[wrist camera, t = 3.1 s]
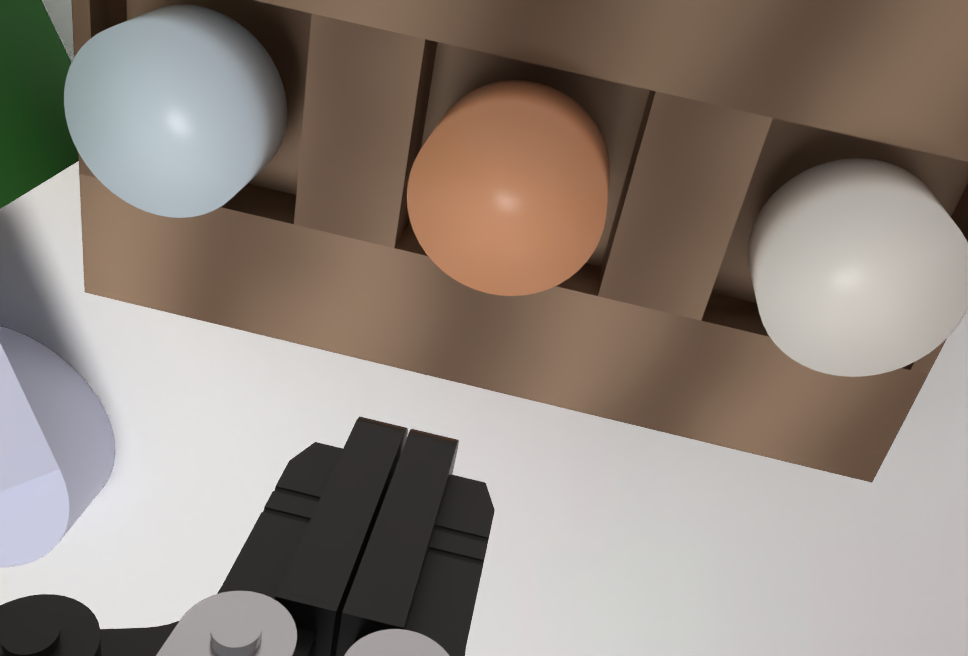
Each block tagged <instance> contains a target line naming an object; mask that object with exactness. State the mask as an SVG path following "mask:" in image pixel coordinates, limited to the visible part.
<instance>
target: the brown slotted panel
mask: <svg viewBox="0 0 968 656" xmlns="http://www.w3.org/2000/svg"><path fill="white" fill-rule="evenodd" d="M177 4H187V5H196V6H202V7H206V8H209V9H212V10H215V11H218V12H220V13H222V14H224V15H226V16H228V17H230V18H231V19H233V20H235V21H236V22H238V23H239V24H240V25H242V26H243V27H244V28H246V29H247V30H248V31H249V32H250V33H251V34H252V35H253V36H254V37H255V38H256V39H257V40H258V41H259V42H260V43H261V45H262V46H263V47H264V48H265V49H266V51H267V52H268V54H269V55H270V57H271V58H272V60H273V62H274V64H275V66H276V68H277V70H278V72H279V75H280V77H281V80H282V83H283V86H284V90H285V94H286V102H287V123H286V130H285V134H284V137H283V141H282V143H281V145H280V147H279V149H278V151H277V153H276V154H275V156H274V157H273V159H272V160H271V161H270V162H269V163H268V165H267V166H266V167H265V168H264V169H263V170H261V171H260V172H259V173H258V174H257V175H256V176H255V177H254V178H253V179H252V180H251V181H250V182H249V183H247V184H246V185H245V186H244V187H243V188H242V189H241V190H240V191H239V192H238V193H237V194H236V195H235V196H233V197H232V198H231V199H230V200H229V201H228V202H226V203H225V204H224V205H223V206H221V207H219V208H217V209H216V210H214V211H211V212H209V213H206V214H204V215H199V216H195V217H186V218H174V217H165V216H160V215H156V214H152V213H149V212H146V211H144V210H141V209H139V208H137V207H134V206H133V205H131V204H129V203H127V202H125V201H124V200H122V199H121V198H119V197H118V196H116V195H115V194H114V193H112V192H111V191H110V190H109V189H108V188H107V187H105V186H104V185H103V184H102V183H101V182H100V181H99V180H98V179H97V178H96V176H95V175H94V174H93V173H92V172H91V170H90V169H89V168H88V167H87V165H86V164H85V162H84V161H83V159H82V157H81V156H80V154H79V175H80V197H81V219H82V242H83V264H84V286H85V292H86V293H90V294H94V295H99V296H103V297H107V298H111V299H115V300H119V301H123V302H127V303H132V304H136V305H140V306H144V307H148V308H152V309H156V310H161V311H165V312H169V313H173V314H177V315H181V316H185V317H190V318H194V319H198V320H202V321H206V322H210V323H214V324H219V325H223V326H227V327H231V328H235V329H239V330H243V331H248V332H252V333H256V334H260V335H264V336H268V337H272V338H276V339H281V340H285V341H289V342H293V343H297V344H301V345H305V346H310V347H314V348H318V349H322V350H326V351H330V352H334V353H339V354H343V355H347V356H351V357H355V358H359V359H363V360H368V361H372V362H376V363H380V364H384V365H388V366H392V367H397V368H401V369H405V370H409V371H413V372H417V373H421V374H425V375H430V376H434V377H438V378H442V379H446V380H450V381H454V382H459V383H463V384H467V385H471V386H475V387H479V388H483V389H488V390H492V391H496V392H500V393H504V394H508V395H512V396H517V397H521V398H525V399H529V400H533V401H537V402H541V403H546V404H550V405H554V406H558V407H562V408H566V409H570V410H574V411H579V412H583V413H587V414H591V415H595V416H599V417H603V418H608V419H612V420H616V421H620V422H624V423H628V424H632V425H637V426H641V427H645V428H649V429H653V430H657V431H661V432H666V433H670V434H674V435H678V436H682V437H686V438H690V439H695V440H699V441H703V442H707V443H711V444H715V445H719V446H723V447H728V448H732V449H736V450H740V451H744V452H748V453H752V454H757V455H761V456H765V457H769V458H773V459H777V460H781V461H786V462H790V463H794V464H798V465H802V466H806V467H810V468H815V469H819V470H823V471H827V472H831V473H835V474H839V475H843V476H848V477H852V478H856V479H860V480H864V481H868V482H873V480H874V478H875V476H876V474H877V472H878V470H879V468H880V466H881V464H882V462H883V460H884V458H885V457H886V455H887V453H888V451H889V449H890V447H891V445H892V443H893V441H894V439H895V437H896V435H897V433H898V432H899V430H900V428H901V426H902V424H903V422H904V420H905V418H906V416H907V414H908V412H909V410H910V408H911V406H912V405H913V403H914V401H915V399H916V397H917V395H918V393H919V391H920V389H921V387H922V385H923V383H924V381H925V379H926V378H927V376H928V374H929V372H930V370H931V368H932V366H933V364H934V362H935V360H936V358H937V356H938V354H939V353H940V351H941V349H942V347H943V345H944V343H945V341H946V339H947V338H946V339H945V340H944V341H943V342H942V343H941V344H940V345H939V346H938V347H936V348H935V349H934V350H933V351H931V352H930V353H929V354H927V355H925V356H924V357H922V358H921V359H919V360H917V361H915V362H913V363H911V364H909V365H907V366H905V367H902V368H899V369H896V370H894V371H890V372H886V373H882V374H878V375H871V376H860V377H847V376H836V375H831V374H825V373H822V372H819V371H815V370H812V369H810V368H808V367H806V366H803V365H801V364H800V363H798V362H796V361H795V360H793V359H791V358H790V357H789V356H787V355H786V354H785V353H784V352H782V351H781V349H780V348H779V347H778V346H777V345H776V344H775V343H774V342H773V340H772V339H771V338H770V336H769V335H768V333H767V331H766V329H765V327H764V325H763V323H762V320H761V317H760V314H759V310H758V305H757V301H756V296H755V292H754V288H753V283H752V279H751V275H750V270H749V264H748V244H749V237H750V234H751V230H752V227H753V225H754V222H755V220H756V218H757V216H758V214H759V212H760V211H761V209H762V208H763V206H764V205H765V203H766V202H767V201H768V200H769V198H770V197H771V196H772V195H773V194H774V193H775V192H776V191H777V190H778V189H779V188H780V187H781V186H782V185H784V184H785V183H786V182H788V181H789V180H790V179H792V178H793V177H795V176H797V175H798V174H800V173H802V172H804V171H806V170H808V169H810V168H812V167H815V166H817V165H821V164H824V163H827V162H831V161H836V160H841V159H851V158H863V159H874V160H880V161H884V162H887V163H891V164H894V165H896V166H898V167H901V168H903V169H905V170H907V171H908V172H910V173H911V174H913V175H915V176H916V177H917V178H918V179H919V180H921V181H922V182H923V183H924V184H925V185H926V186H927V187H928V189H929V190H930V191H931V192H932V193H933V195H934V196H935V197H936V199H937V200H938V201H939V203H940V204H941V205H942V207H943V208H944V209H945V211H946V212H947V213H948V215H949V216H950V217H951V218H952V220H953V221H954V222H955V224H956V225H957V226H958V228H959V229H960V230H961V232H962V233H963V235H964V237H965V239H966V240H967V242H968V0H72V19H73V41H74V57H75V56H76V54H77V53H78V51H79V50H80V49H81V47H82V46H83V45H84V44H85V43H86V42H87V41H88V40H89V39H91V38H92V37H94V36H95V35H96V34H98V33H100V32H102V31H104V30H106V29H108V28H110V27H113V26H115V25H118V24H120V23H123V22H125V21H128V20H130V19H133V18H135V17H138V16H140V15H143V14H145V13H148V12H150V11H153V10H155V9H158V8H162V7H165V6H170V5H177ZM508 80H525V81H531V82H537V83H540V84H544V85H547V86H550V87H552V88H554V89H557V90H559V91H561V92H562V93H564V94H566V95H567V96H569V97H571V98H572V99H573V100H574V101H576V102H577V103H578V104H579V105H581V106H582V107H583V109H584V110H585V111H586V112H587V113H588V114H589V115H590V116H591V118H592V119H593V120H594V122H595V123H596V125H597V126H598V128H599V130H600V132H601V134H602V136H603V139H604V141H605V144H606V147H607V151H608V156H609V163H610V180H609V191H608V202H607V212H606V220H605V225H604V230H603V232H602V235H601V238H600V241H599V243H598V245H597V247H596V249H595V251H594V252H593V254H592V255H591V257H590V258H589V259H588V261H587V262H586V263H585V264H584V265H583V266H582V267H581V268H580V269H579V271H577V272H576V273H575V274H574V275H572V276H571V277H570V278H569V279H567V280H565V281H564V282H562V283H561V284H559V285H557V286H555V287H552V288H550V289H548V290H545V291H542V292H538V293H534V294H529V295H522V296H501V295H494V294H488V293H484V292H481V291H478V290H475V289H472V288H470V287H468V286H465V285H463V284H461V283H460V282H458V281H456V280H454V279H453V278H451V277H450V276H449V275H447V274H446V273H445V272H443V271H442V270H441V269H440V268H439V267H438V266H437V265H436V264H435V263H434V262H433V261H432V260H431V259H430V258H429V256H428V255H427V254H426V253H425V251H424V250H423V248H422V247H421V245H420V243H419V242H418V240H417V237H416V235H415V233H414V231H413V228H412V225H411V222H410V218H409V213H408V208H407V187H408V180H409V176H410V172H411V169H412V166H413V164H414V161H415V159H416V157H417V155H418V153H419V152H420V150H421V148H422V147H423V145H424V144H425V142H426V141H427V139H428V138H429V136H430V135H431V133H432V132H433V130H434V129H435V127H436V126H437V124H438V123H439V121H440V120H441V118H442V117H443V116H444V114H445V113H446V112H447V110H448V109H449V108H450V107H451V106H452V105H453V104H454V103H455V102H456V101H458V100H459V99H460V98H462V97H463V96H464V95H466V94H468V93H469V92H471V91H473V90H475V89H477V88H479V87H482V86H484V85H487V84H491V83H495V82H499V81H508Z"/></svg>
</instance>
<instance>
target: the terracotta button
mask: <svg viewBox="0 0 968 656" xmlns="http://www.w3.org/2000/svg"><path fill="white" fill-rule="evenodd" d="M609 180H610V163H609V156H608V151H607V147H606V144H605V141H604V139H603V136H602V134H601V132H600V130H599V128H598V126H597V125H596V123H595V122H594V120H593V119H592V118H591V116H590V115H589V114H588V113H587V112H586V111H585V110H584V109H583V107H582V106H581V105H579V104H578V103H577V102H576V101H574V100H573V99H572V98H571V97H569V96H567V95H566V94H564V93H562V92H561V91H559V90H557V89H554V88H552V87H550V86H547V85H544V84H540V83H537V82H531V81H525V80H508V81H499V82H495V83H491V84H487V85H484V86H482V87H479V88H477V89H475V90H473V91H471V92H469V93H468V94H466V95H464V96H463V97H462V98H460V99H459V100H458V101H456V102H455V103H454V104H453V105H452V106H451V107H450V108H449V109H448V110H447V112H446V113H445V114H444V116H443V117H442V118H441V120H440V121H439V123H438V124H437V126H436V127H435V129H434V130H433V132H432V133H431V135H430V136H429V138H428V139H427V141H426V142H425V144H424V145H423V147H422V148H421V150H420V152H419V153H418V155H417V157H416V159H415V161H414V164H413V166H412V169H411V172H410V176H409V180H408V187H407V208H408V213H409V218H410V222H411V225H412V228H413V231H414V233H415V235H416V237H417V240H418V242H419V243H420V245H421V247H422V248H423V250H424V251H425V253H426V254H427V255H428V256H429V258H430V259H431V260H432V261H433V262H434V263H435V264H436V265H437V266H438V267H439V268H440V269H441V270H442V271H443V272H445V273H446V274H447V275H449V276H450V277H451V278H453V279H454V280H456V281H458V282H460V283H461V284H463V285H465V286H468V287H470V288H472V289H475V290H478V291H481V292H484V293H488V294H494V295H501V296H522V295H529V294H534V293H538V292H542V291H545V290H548V289H550V288H552V287H555V286H557V285H559V284H561V283H562V282H564V281H565V280H567V279H569V278H570V277H571V276H572V275H574V274H575V273H576V272H577V271H579V269H580V268H581V267H582V266H583V265H584V264H585V263H586V262H587V261H588V259H589V258H590V257H591V255H592V254H593V252H594V251H595V249H596V247H597V245H598V243H599V241H600V238H601V235H602V232H603V230H604V225H605V220H606V212H607V202H608V191H609Z"/></svg>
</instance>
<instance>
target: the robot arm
mask: <svg viewBox="0 0 968 656" xmlns="http://www.w3.org/2000/svg"><path fill="white" fill-rule="evenodd" d="M407 434H408V429H407V428H405V427H401V426H397V425H392V424H388V423H384V422H380V421H376V420H371V419H367V418H363V417H359V418H358V419H357V421H356V423H355V425H354V427H353V429H352V431H351V434H350V436H349V438H348V440H347V442H346V444H345V446H344V449H342V448H338V447H334V446H329V445H325V444H321V443H317V442H315V443H313V444H312V445H311V446H309V447H308V448H306V449H305V450H304V451H302V452H301V453H300V454H298V455H297V456H295V457H294V458H293V459H291V460H290V461H289V463H288V464H287V466H286V468H285V470H284V472H283V474H282V476H281V477H280V479H279V481H278V483H277V485H276V488H275V491H273V492H272V494H271V496H270V498H269V500H268V502H267V503H266V505H265V508H264V511H263V512H262V513H261V515H260V516H259V518H258V520H257V522H256V524H255V526H254V528H253V529H252V531H251V533H250V535H249V537H248V539H247V541H246V542H245V544H244V546H243V548H242V550H241V552H240V554H239V555H238V557H237V559H236V561H235V563H234V565H233V567H232V568H231V570H230V572H229V574H228V576H227V578H226V580H225V581H224V583H223V585H222V587H221V589H220V590H219V592H218V593H217V594H216V595H213V596H210V597H208V598H206V599H204V600H202V601H200V602H199V603H197V604H195V605H194V606H193V607H192V608H191V609H189V610H188V611H187V612H186V613H185V615H184V616H183V617H182V618H181V620H180V621H178V622H175V623H172V624H168V625H163V626H158V627H149V628H127V629H100V627H99V623H98V621H97V619H96V617H95V615H94V614H93V612H92V611H91V610H90V609H89V608H88V607H86V606H85V605H84V604H83V603H81V602H79V601H77V600H75V599H72V598H69V597H65V596H60V595H46V594H42V595H33V596H27V597H23V598H19V599H16V600H13V601H10V602H7V603H5V604H3V605H0V656H465V649H466V644H467V639H468V634H469V630H470V625H471V620H472V615H473V610H474V606H475V601H476V596H477V591H478V587H479V582H480V577H481V572H482V568H483V562H484V558H485V553H486V549H487V544H488V539H489V534H490V529H491V525H492V520H493V515H494V507H493V504H492V501H491V498H490V495H489V492H488V489H487V486H486V483H484V482H480V481H476V480H472V479H467V478H463V477H459V476H455V475H452V473H453V468H454V463H455V458H456V454H457V449H458V443H459V440H456V439H452V438H448V437H443V436H439V435H435V434H431V433H427V432H423V431H418V430H414V429H411V430H410V432H409V434H408V437H407Z"/></svg>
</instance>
